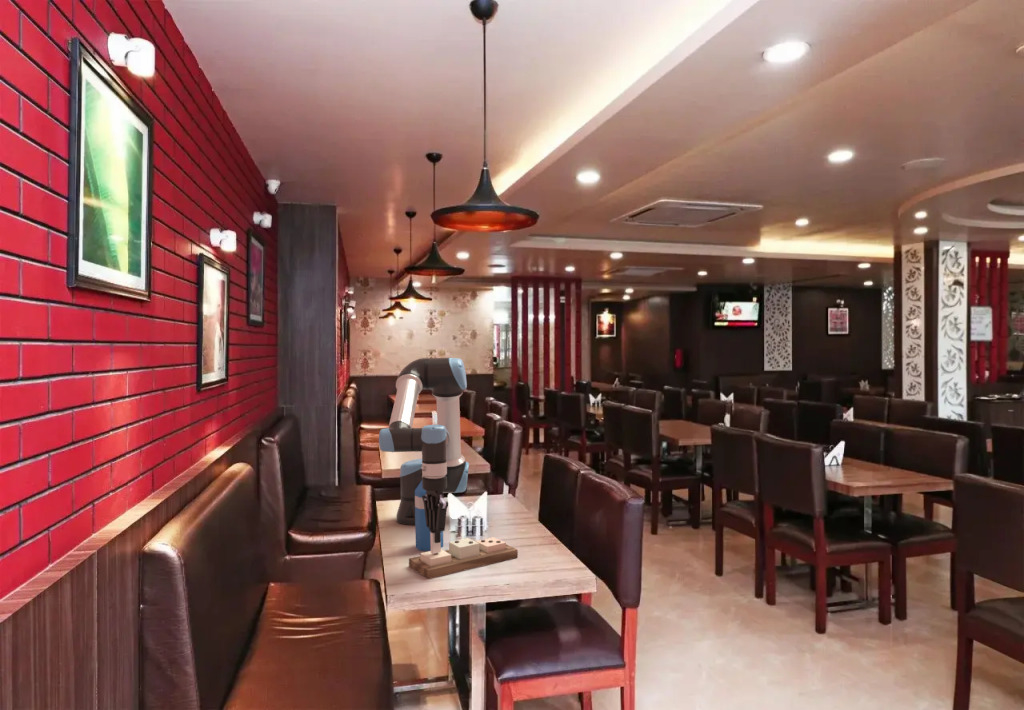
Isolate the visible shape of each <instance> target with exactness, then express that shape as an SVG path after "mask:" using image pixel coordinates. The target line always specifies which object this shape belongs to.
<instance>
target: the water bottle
mask: <svg viewBox="0 0 1024 710" xmlns="http://www.w3.org/2000/svg"><path fill="white" fill-rule="evenodd" d="M423 477H424V476H423V475H422V478H423ZM423 495H426V490H424V489H423V488H422V481H421V482H420V484H419V485H418V487H417V488H416V490H415V525H414V527H415V528H414V529H415V533H414V534H415V549H417V550H419V551H421V552H428V551H431V540H430V530H429V527H427V526H426V518H425V510H424V503H423V499H422V496H423ZM443 547H444V531H441V549H442V548H443Z"/></svg>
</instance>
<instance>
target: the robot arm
mask: <svg viewBox="0 0 1024 710" xmlns="http://www.w3.org/2000/svg"><path fill="white" fill-rule="evenodd" d="M466 373H467V371H466V368H465V364H464V361H463V359H461V358H459V357H457V358H456V357H435V358H434V357H431V358H430V357H429V358H428V357H427V358H426V357H425V358H424V357H423V358H419V359H415V360H413V361H411V362H409V363H408V364H407V365H406V366H405V367H404V368H402V370H401V371H400V373H399V374H398V376H397V379H396V381H395V389H396V394H395V398H394V399H395V400H394V402H393V408H392V411H391V415H390V419H389V424H388V427H386V428H382V429H380V430H379V434H378V446H379V449H380V451H381V452H384V453H385V452H387V453H403V452H404V453H406V452H408V453H409V452H410V453H411V452H414V453H415V452H416V453H417V452H418V453H419V452H421V457H422V458H417V459H411V460H408V461H405V462H404V463H402V464H401V466H400V469H399V471H400V472H399V478H400V479H399V481H400V502H399V506H398V507H397V508H398V509H397V512H396V515H395V516H396V523H399V524H401V525H409V526H415V490H416V488H417V487H418V485H419V484H420V482H421V481H422V488H423V489H424V490H426V495H423V496H422V499H423V503H424V510H425V518H426V526H427V527H429V530H430V540H431V553H432V554H435V553H440V552H441V549H442V548H441V531H443V532H444V531H446V530H445V529H446V519H447V509H448V506H449V501H446V500H445V499H444V497H445V495H444V494H447V493H448V494H450V493H451V494H456V493H464V492H465V491H466V490H467V485H468V478H469V477H468V476H469V468H470V463H469V462H468V461H466V457H465V456H464V455H463V454H462V445H461V443H462V442H461V415H460V414H461V413H460V412H461V411H460V408H461V407H460V397H461V396H462V395H463V393H464V390H466V389H467V388H468V387H467V386H468V383H467V374H466ZM423 390H430V391H431V395H432V396H433V397H434V398H435V399H436V421H437V423H436V424H426V425H424V426H422V427H413V424H414V419H415V415H416V414H415V413H416V409H417V404H418V403H417V402H418V397H419V394H421V392H422V391H423ZM422 475H423V476H424V477H423V478H422Z"/></svg>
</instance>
